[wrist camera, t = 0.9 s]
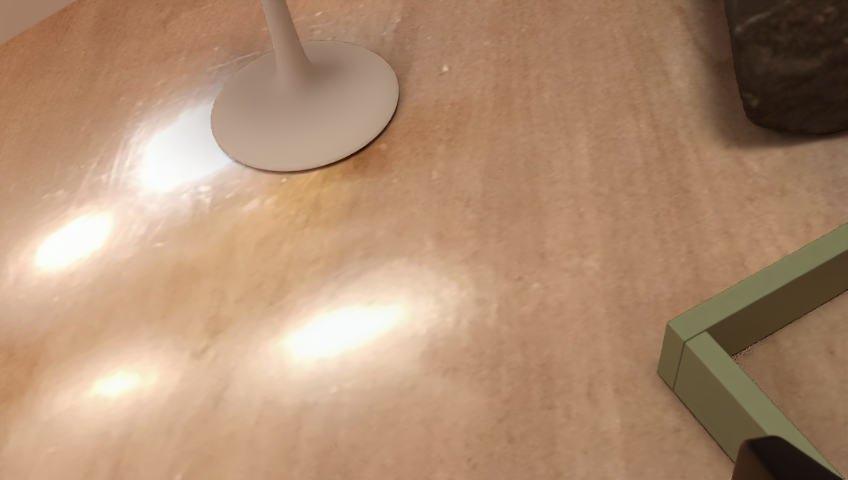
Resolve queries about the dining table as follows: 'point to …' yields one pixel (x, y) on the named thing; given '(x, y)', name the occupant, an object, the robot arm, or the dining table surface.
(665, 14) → the dining table surface
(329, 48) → the wineglass
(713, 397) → the frame
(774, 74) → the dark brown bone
